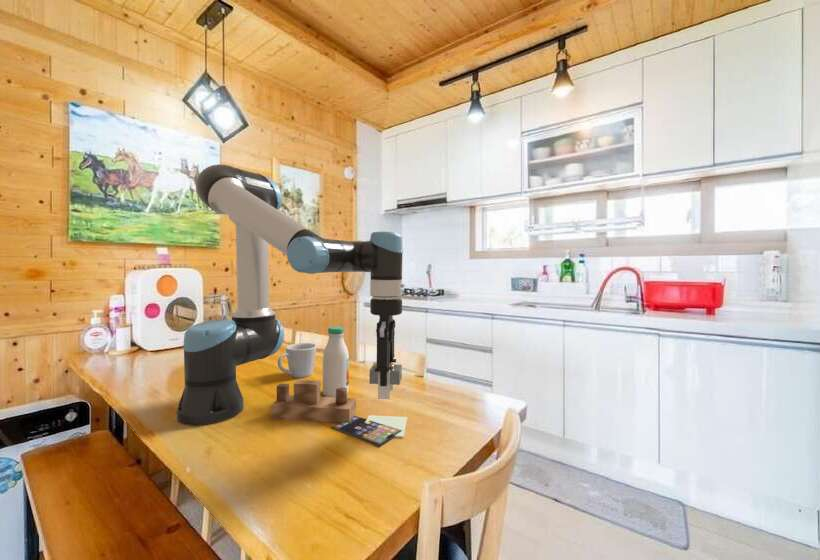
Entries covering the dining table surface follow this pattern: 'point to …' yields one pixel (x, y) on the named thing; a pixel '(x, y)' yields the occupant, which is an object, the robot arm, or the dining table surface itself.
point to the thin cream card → (391, 422)
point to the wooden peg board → (312, 404)
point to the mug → (299, 359)
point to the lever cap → (394, 374)
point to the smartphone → (367, 430)
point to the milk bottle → (335, 363)
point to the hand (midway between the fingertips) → (385, 393)
